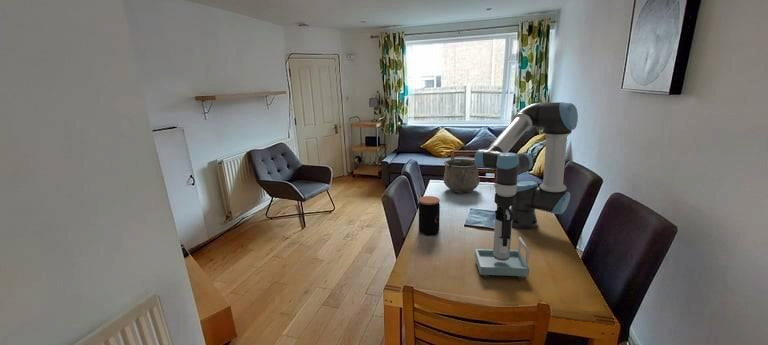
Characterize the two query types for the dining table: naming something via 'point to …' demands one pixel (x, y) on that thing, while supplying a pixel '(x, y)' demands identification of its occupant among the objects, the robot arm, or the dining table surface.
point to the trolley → (503, 263)
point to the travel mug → (497, 238)
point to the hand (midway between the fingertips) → (501, 248)
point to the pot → (461, 175)
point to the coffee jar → (429, 215)
